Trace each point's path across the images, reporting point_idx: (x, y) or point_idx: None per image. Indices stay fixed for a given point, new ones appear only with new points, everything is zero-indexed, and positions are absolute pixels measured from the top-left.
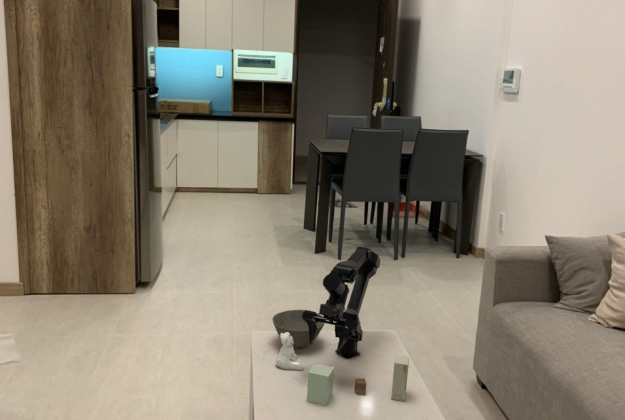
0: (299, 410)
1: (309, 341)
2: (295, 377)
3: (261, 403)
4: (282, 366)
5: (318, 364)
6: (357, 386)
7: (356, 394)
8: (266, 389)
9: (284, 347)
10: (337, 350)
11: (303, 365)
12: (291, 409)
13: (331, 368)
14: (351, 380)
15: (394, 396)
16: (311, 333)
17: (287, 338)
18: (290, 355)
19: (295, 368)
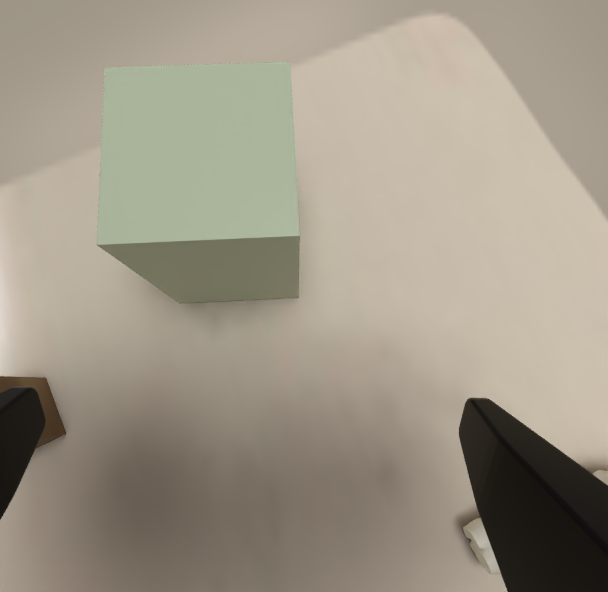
0: (295, 100)
1: (510, 415)
2: (462, 408)
3: (490, 80)
4: (602, 472)
5: (258, 232)
6: (2, 378)
7: (41, 379)
8: (540, 205)
9: None
10: (27, 389)
11: (476, 542)
12: (334, 93)
13: (115, 211)
14: (111, 550)
15: None
16: (595, 517)
17: None
18: None
19: None
